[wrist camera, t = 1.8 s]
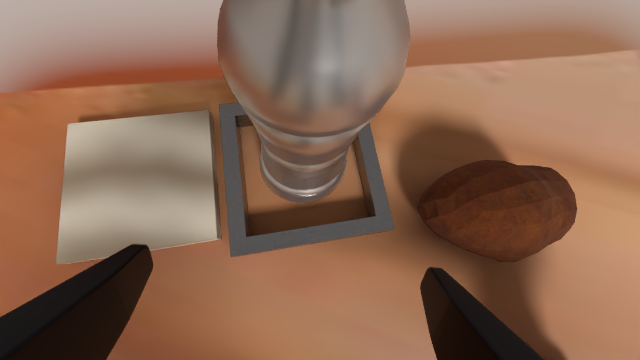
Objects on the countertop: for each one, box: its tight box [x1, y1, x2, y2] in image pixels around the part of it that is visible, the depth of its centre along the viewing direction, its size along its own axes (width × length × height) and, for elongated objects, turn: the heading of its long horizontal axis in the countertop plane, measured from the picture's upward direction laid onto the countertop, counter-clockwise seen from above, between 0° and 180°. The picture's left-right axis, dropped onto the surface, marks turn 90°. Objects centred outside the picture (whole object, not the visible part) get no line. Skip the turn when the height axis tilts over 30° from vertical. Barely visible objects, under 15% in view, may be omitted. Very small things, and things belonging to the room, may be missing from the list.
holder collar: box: [219, 103, 394, 257], centre depth 22 cm, size 12×12×2 cm
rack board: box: [56, 110, 221, 264], centre depth 21 cm, size 11×11×1 cm
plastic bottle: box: [217, 0, 410, 203], centre depth 14 cm, size 6×7×20 cm
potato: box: [418, 160, 577, 262], centre depth 20 cm, size 8×12×8 cm, turn 101°
